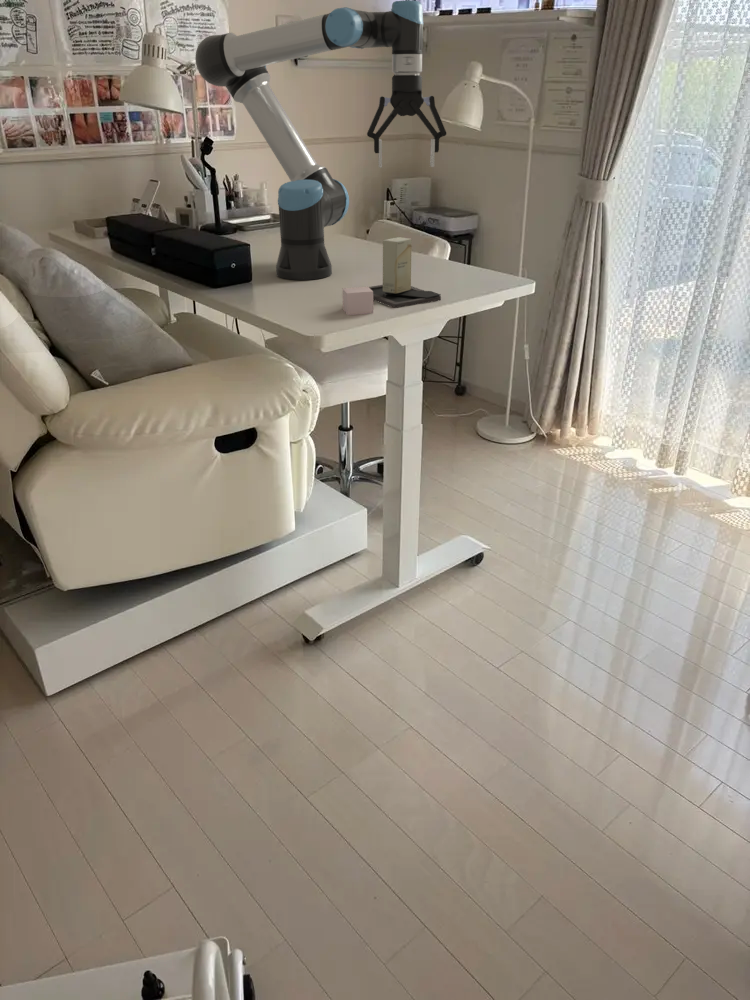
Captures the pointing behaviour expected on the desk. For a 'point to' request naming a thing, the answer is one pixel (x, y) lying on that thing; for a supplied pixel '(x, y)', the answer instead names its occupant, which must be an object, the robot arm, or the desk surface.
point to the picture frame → (404, 296)
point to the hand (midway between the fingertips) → (406, 166)
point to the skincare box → (397, 265)
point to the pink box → (357, 300)
